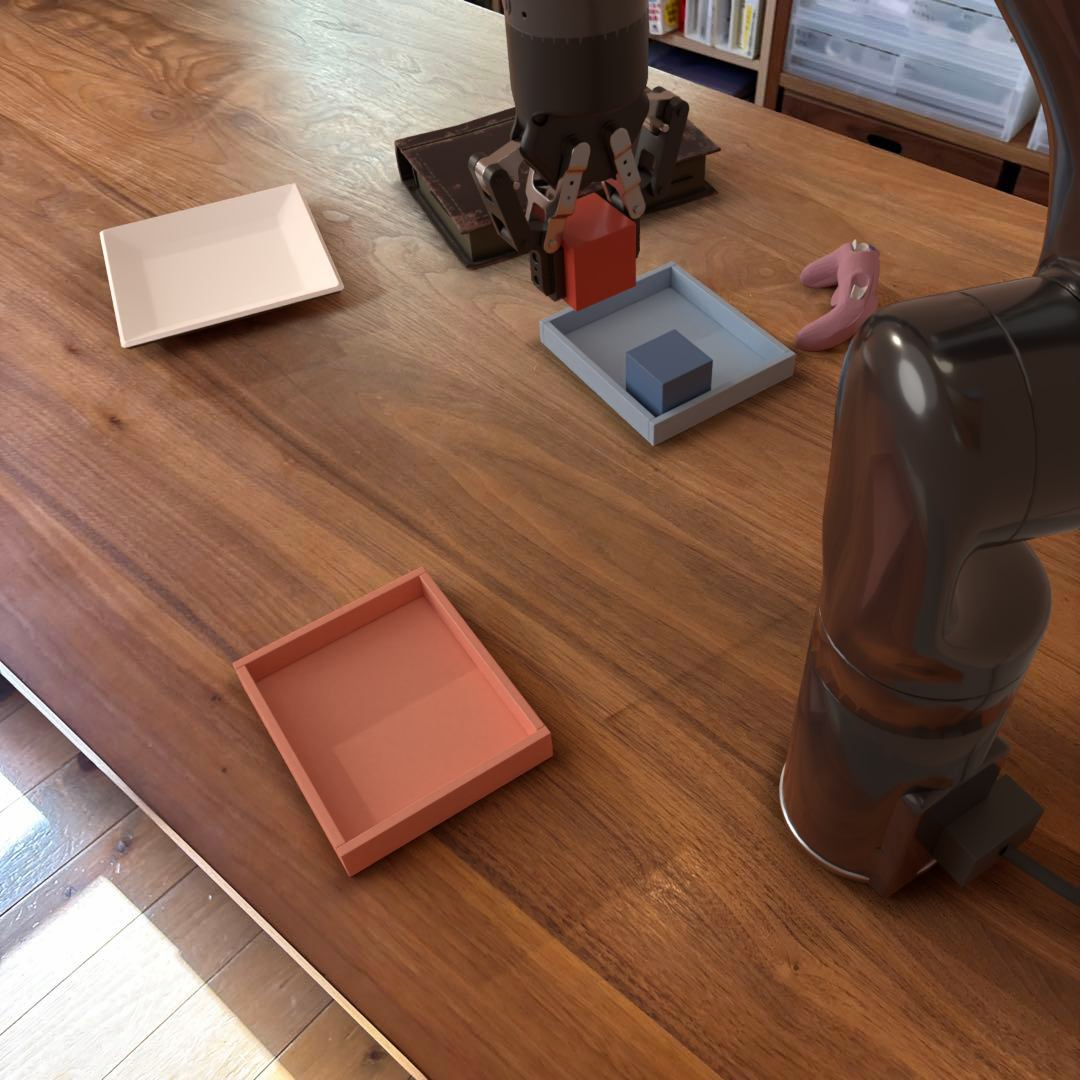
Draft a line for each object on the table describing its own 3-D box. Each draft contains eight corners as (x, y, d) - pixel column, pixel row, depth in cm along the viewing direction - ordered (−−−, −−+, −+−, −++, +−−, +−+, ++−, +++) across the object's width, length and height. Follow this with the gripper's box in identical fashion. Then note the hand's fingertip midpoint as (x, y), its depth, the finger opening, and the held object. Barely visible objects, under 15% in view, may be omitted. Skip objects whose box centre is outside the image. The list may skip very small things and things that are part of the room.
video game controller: (838, 374, 87) (894, 312, 82) (788, 350, 86) (841, 285, 81) (841, 299, 93) (893, 237, 88) (795, 275, 93) (844, 211, 87)
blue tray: (792, 379, 85) (796, 353, 83) (653, 450, 81) (653, 425, 79) (671, 285, 94) (672, 260, 92) (540, 345, 89) (538, 320, 88)
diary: (399, 182, 107) (390, 133, 104) (628, 115, 113) (628, 67, 109) (470, 281, 96) (464, 231, 92) (722, 201, 102) (726, 151, 98)
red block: (636, 286, 70) (636, 223, 66) (576, 312, 68) (573, 249, 65) (596, 254, 72) (594, 191, 69) (537, 278, 71) (533, 216, 67)
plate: (106, 248, 103) (98, 229, 101) (302, 199, 106) (297, 180, 105) (129, 366, 91) (120, 346, 89) (349, 306, 95) (344, 286, 93)
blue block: (710, 407, 83) (713, 359, 79) (661, 431, 81) (662, 384, 78) (673, 375, 85) (674, 328, 82) (625, 399, 84) (625, 352, 80)
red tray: (553, 755, 64) (551, 732, 62) (350, 877, 60) (341, 856, 58) (427, 589, 73) (422, 565, 71) (242, 686, 69) (231, 662, 67)
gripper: (493, 66, 53) (521, 352, 65) (731, -15, 57) (714, 267, 70) (420, 15, 57) (459, 292, 70) (646, -56, 62) (645, 216, 74)
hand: (587, 278), depth 70 cm, fingers closed on red block, 4 cm apart
